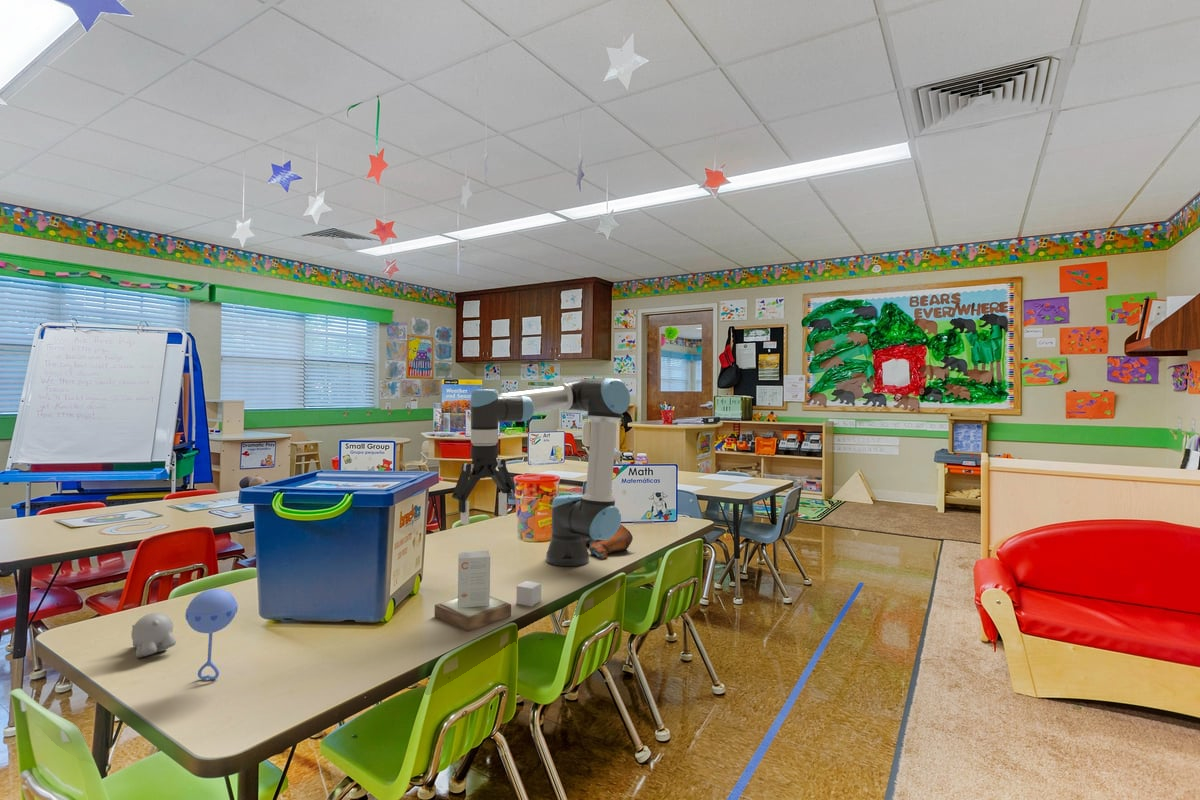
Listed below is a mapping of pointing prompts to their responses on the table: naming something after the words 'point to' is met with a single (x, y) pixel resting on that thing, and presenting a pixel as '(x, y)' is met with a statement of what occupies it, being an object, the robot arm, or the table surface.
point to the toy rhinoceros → (152, 634)
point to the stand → (472, 613)
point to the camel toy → (610, 543)
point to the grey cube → (528, 593)
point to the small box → (473, 579)
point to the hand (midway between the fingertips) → (484, 519)
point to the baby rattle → (211, 618)
